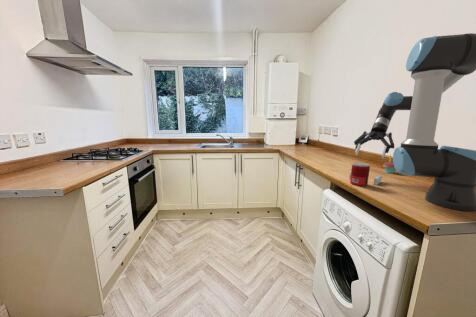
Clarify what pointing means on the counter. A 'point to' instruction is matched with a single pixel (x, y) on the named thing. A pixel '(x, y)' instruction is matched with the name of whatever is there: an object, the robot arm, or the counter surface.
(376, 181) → the channel
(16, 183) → the counter surface
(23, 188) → the counter surface
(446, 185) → the robot arm
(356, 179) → the canned food
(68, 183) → the counter surface
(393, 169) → the cupcake
